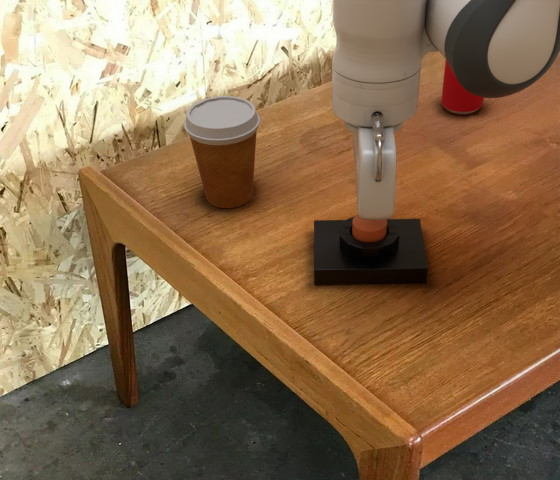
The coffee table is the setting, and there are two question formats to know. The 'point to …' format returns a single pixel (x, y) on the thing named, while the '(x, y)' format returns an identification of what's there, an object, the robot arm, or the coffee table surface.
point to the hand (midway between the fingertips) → (369, 207)
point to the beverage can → (458, 95)
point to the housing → (369, 254)
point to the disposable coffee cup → (224, 147)
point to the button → (369, 229)
